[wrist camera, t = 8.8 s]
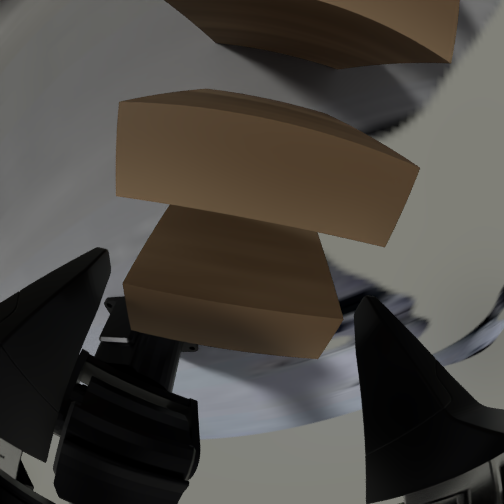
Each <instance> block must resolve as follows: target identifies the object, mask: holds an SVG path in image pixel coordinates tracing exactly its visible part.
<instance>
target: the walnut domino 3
mask: <svg viewBox="0 0 504 504" xmlns="http://www.w3.org/2000/svg"><path fill="white" fill-rule="evenodd" d="M123 289H124V295H125V301H126V306H127V312H128V317H129V322H130V327H131V330H133V331H137V332H141V333H146V334H150V335H154V336H159V337H163V338H168V339H173V340H178V341H183V342H188V343H193V344H199V345H204V346H210V347H216V348H222V349H229V350H236V351H243V352H250V353H259V354H267V355H276V356H287V357H298V358H311V359H318V358H319V357H320V355H321V354H322V352H323V351H324V349H325V348H326V346H327V345H328V343H329V342H330V340H331V339H332V337H333V335H334V334H335V332H336V331H337V329H338V327H339V326H340V324H341V323H342V321H343V315H342V312H341V308H340V304H339V301H338V297H337V294H336V290H335V287H334V284H333V280H332V277H331V273H330V270H329V267H328V264H327V260H326V257H325V254H324V251H323V248H322V245H321V242H320V239H319V236H318V233H317V232H315V231H310V230H305V229H300V228H295V227H291V226H286V225H281V224H276V223H271V222H266V221H260V220H255V219H250V218H245V217H239V216H234V215H229V214H223V213H218V212H212V211H206V210H201V209H195V208H189V207H183V206H177V205H171V204H170V205H169V207H168V208H167V210H166V211H165V213H164V215H163V216H162V218H161V219H160V221H159V222H158V224H157V225H156V227H155V229H154V230H153V232H152V234H151V235H150V237H149V238H148V240H147V242H146V243H145V245H144V247H143V248H142V250H141V252H140V253H139V255H138V257H137V259H136V260H135V262H134V264H133V265H132V267H131V269H130V271H129V273H128V274H127V276H126V278H125V280H124V282H123Z"/></svg>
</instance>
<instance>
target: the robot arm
mask: <svg viewBox="0 0 504 504" xmlns="http://www.w3.org/2000/svg"><path fill="white" fill-rule="evenodd" d="M110 273H111V265H110V258H109V252H108V250H107V249H104V248H100V247H97V248H94V249H93V250H91V251H89V252H87V253H85V254H83V255H81V256H79V257H77V258H76V259H74V260H72V261H70V262H68V263H66V264H65V265H63V266H61V267H59V268H58V269H56V270H54V271H52V272H50V273H49V274H47V275H45V276H44V277H42V278H40V279H38V280H37V281H35V282H33V283H32V284H30V285H28V286H27V287H25V288H23V289H22V290H20V292H17V293H15V294H14V295H12V296H11V297H9V298H7V299H6V300H4V301H2V302H1V303H0V504H55V503H53V502H52V501H50V500H48V499H46V498H44V497H43V496H41V495H39V494H38V493H36V492H34V491H33V489H34V486H33V484H32V482H31V480H30V478H29V476H28V474H27V472H26V470H25V468H24V465H23V463H22V461H21V456H22V452H25V453H27V454H29V455H31V456H33V457H35V458H37V459H39V460H41V461H43V462H45V463H46V461H47V458H48V453H49V449H50V444H51V440H52V436H53V434H55V435H57V436H59V437H60V440H59V444H58V448H57V452H56V457H55V461H54V466H53V471H54V473H55V479H54V487H55V489H56V492H57V494H58V496H59V498H61V499H63V500H65V501H68V502H69V504H178V501H179V499H180V497H181V496H182V494H183V492H184V491H185V490H186V489H187V487H188V486H189V481H188V480H189V479H191V477H192V476H193V475H194V473H195V471H196V469H197V466H198V463H199V459H200V436H199V420H198V402H197V400H194V399H191V398H190V399H187V398H185V397H182V396H179V395H177V394H174V393H172V390H173V385H174V381H175V376H176V372H177V367H178V363H179V358H180V354H181V352H195V351H197V350H198V344H193V343H188V342H183V341H178V340H173V339H168V338H163V337H159V336H154V335H150V334H146V333H141V332H137V331H133V330H131V327H130V322H129V317H128V312H127V306H126V301H125V297H111V298H107V299H106V300H105V302H104V305H105V307H106V308H107V310H108V311H109V313H110V316H109V318H108V320H107V322H106V324H105V326H104V328H103V331H102V333H101V335H100V337H99V340H100V341H101V342H100V345H99V347H98V349H97V352H96V354H95V356H92V355H90V354H89V352H87V351H86V350H84V349H82V351H81V353H80V350H81V348H82V345H83V343H84V340H85V338H86V336H87V333H88V331H89V329H90V326H91V324H92V322H93V320H94V317H95V315H96V313H97V310H98V307H99V305H100V302H101V299H102V296H103V293H104V290H105V287H106V285H107V282H108V279H109V276H110ZM354 326H355V348H356V358H357V366H358V374H359V382H360V391H361V400H362V411H363V423H364V436H365V454H366V456H365V458H366V460H365V461H366V504H370V503H375V502H380V501H384V500H388V499H392V498H396V497H400V496H404V502H402V503H399V504H504V410H503V409H496V408H490V407H486V406H484V405H482V404H480V403H479V402H477V401H476V400H475V399H474V398H473V397H472V396H471V395H470V394H469V393H468V392H467V391H466V390H465V389H464V388H463V387H462V386H461V385H460V384H459V383H458V382H457V381H456V380H455V379H454V378H453V377H452V376H451V375H450V374H449V373H448V372H447V370H446V369H445V368H444V367H443V366H442V365H441V364H440V363H439V362H438V361H437V360H435V357H434V356H433V355H432V354H431V353H430V352H429V351H428V350H427V349H426V348H425V347H424V346H423V345H422V344H421V342H420V341H419V340H418V339H417V338H416V337H415V336H414V335H413V334H412V333H411V332H410V331H409V330H408V329H407V328H406V327H405V326H404V325H403V324H402V323H401V322H400V321H399V320H398V319H397V318H396V317H395V316H394V314H393V313H392V312H391V311H390V310H389V309H388V308H387V307H386V306H385V305H384V304H383V303H381V302H380V301H379V300H378V299H377V298H376V297H374V296H368V295H367V296H365V297H364V298H363V299H362V301H361V302H360V304H359V306H358V307H357V309H356V311H355V313H354ZM79 353H80V355H79ZM80 381H81V382H83V383H85V384H87V385H88V386H86V385H84V384H83V385H81V384H79V383H80Z"/></svg>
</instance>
